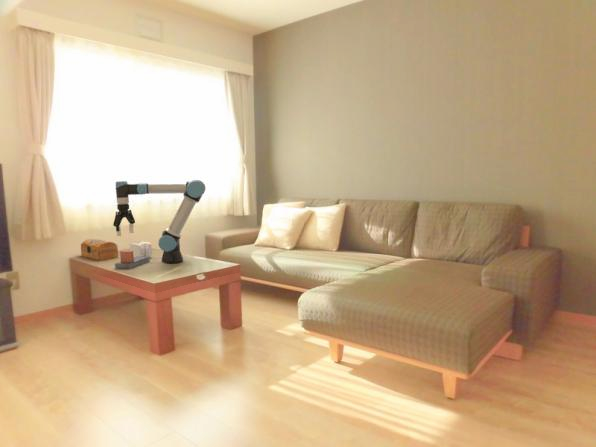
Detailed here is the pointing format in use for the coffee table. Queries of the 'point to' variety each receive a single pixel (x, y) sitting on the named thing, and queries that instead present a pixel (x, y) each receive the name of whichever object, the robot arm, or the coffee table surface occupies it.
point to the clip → (127, 256)
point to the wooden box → (99, 249)
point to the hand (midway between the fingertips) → (125, 234)
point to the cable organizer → (141, 249)
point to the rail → (136, 262)
